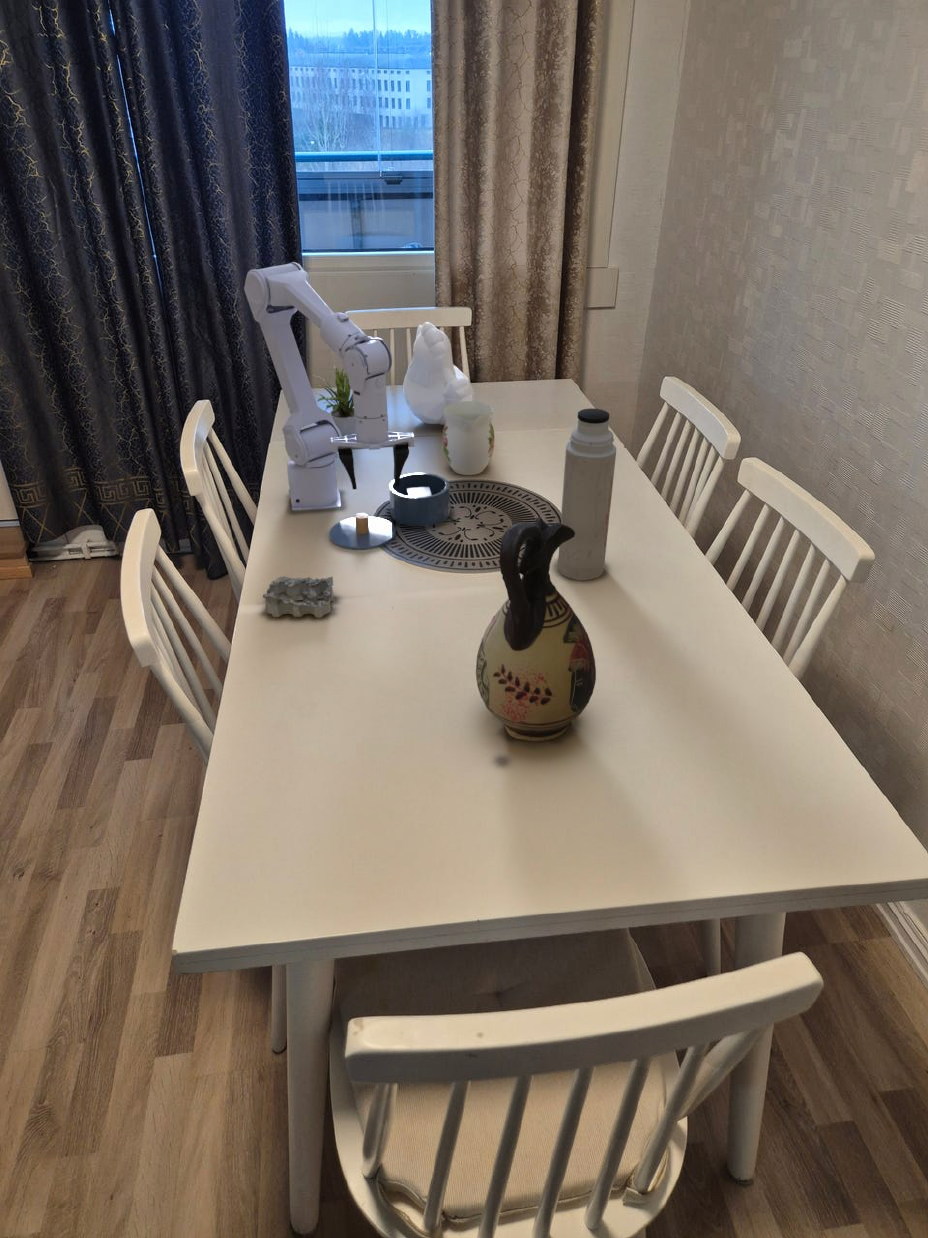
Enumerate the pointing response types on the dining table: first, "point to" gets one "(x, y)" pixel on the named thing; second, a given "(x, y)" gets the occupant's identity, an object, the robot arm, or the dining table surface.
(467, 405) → the pitcher
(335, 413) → the house plant
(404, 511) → the canister
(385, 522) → the lid
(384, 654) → the dining table surface
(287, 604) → the egg carton
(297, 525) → the dining table surface
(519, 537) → the ceramic jug
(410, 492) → the block
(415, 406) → the decorative rooster
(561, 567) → the thermos bottle
